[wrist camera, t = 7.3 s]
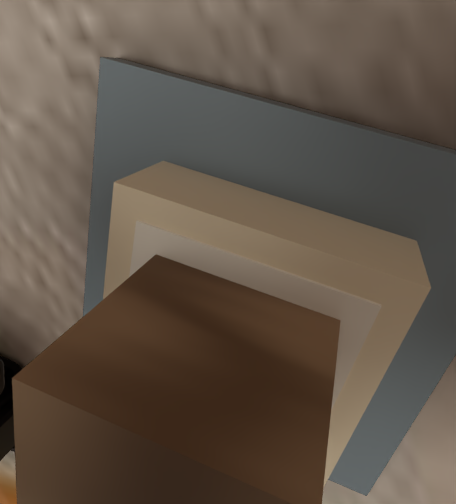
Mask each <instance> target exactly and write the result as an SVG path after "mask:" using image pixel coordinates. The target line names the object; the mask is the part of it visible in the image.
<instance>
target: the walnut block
mask: <svg viewBox="0 0 456 504" xmlns="http://www.w3.org/2000/svg"><path fill="white" fill-rule="evenodd" d="M340 321H341V320H338V319H335V318H333V317H330V316H327V315H324V314H322V313H319V312H316V311H313V310H310V309H308V308H305V307H302V306H299V305H296V304H294V303H291V302H288V301H285V300H282V299H280V298H277V297H274V296H271V295H268V294H266V293H263V292H260V291H257V290H254V289H252V288H249V287H246V286H243V285H241V284H238V283H235V282H232V281H229V280H227V279H224V278H221V277H218V276H215V275H213V274H210V273H207V272H204V271H201V270H199V269H196V268H193V267H190V266H187V265H185V264H182V263H179V262H176V261H173V260H171V259H168V258H165V257H162V256H160V255H157V254H156V255H154V256H153V257H152V258H151V259H150V260H149V261H147V262H146V263H145V264H144V265H143V266H142V267H140V268H139V269H138V270H137V271H136V272H135V273H134V274H132V275H131V276H130V277H129V278H128V279H127V280H125V281H124V282H123V283H122V284H121V285H120V286H118V287H117V288H116V289H115V290H114V291H113V292H111V293H110V294H109V295H108V296H107V297H106V298H105V299H103V300H102V301H101V302H100V303H99V304H98V305H96V306H95V307H94V308H93V309H92V310H91V311H89V312H88V313H87V314H86V315H85V316H84V317H82V318H81V319H80V320H79V321H78V322H77V323H76V324H74V325H73V326H72V327H71V328H70V329H69V330H67V331H66V332H65V333H64V334H63V335H62V336H60V337H59V338H58V339H57V340H56V341H55V342H53V343H52V344H51V345H50V346H49V347H48V348H47V349H45V350H44V351H43V352H42V353H41V354H40V355H38V356H37V357H36V358H35V359H34V360H33V361H31V362H30V363H29V364H28V365H27V366H26V367H24V368H23V369H22V370H21V371H20V372H19V373H17V374H16V375H15V376H14V377H13V378H12V390H13V414H14V439H15V463H16V488H17V504H322V495H323V486H324V476H325V466H326V457H327V447H328V437H329V428H330V418H331V408H332V399H333V389H334V379H335V370H336V360H337V350H338V340H339V331H340Z"/></svg>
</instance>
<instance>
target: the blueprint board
mask: <svg viewBox="0 0 456 504" xmlns="http://www.w3.org/2000/svg"><path fill="white" fill-rule="evenodd" d="M156 254H157V255H160V256H162V257H165V258H168V259H171V260H173V261H176V262H179V263H182V264H185V265H187V266H190V267H193V268H196V269H199V270H201V271H204V272H207V273H210V274H213V275H215V276H218V277H221V278H224V279H227V280H229V281H232V282H235V283H238V284H241V285H243V286H246V287H249V288H252V289H254V290H257V291H260V292H263V293H266V294H268V295H271V296H274V297H277V298H280V299H282V300H285V301H288V302H291V303H294V304H296V305H299V306H302V307H305V308H308V309H310V310H313V311H316V312H319V313H322V314H324V315H327V316H330V317H333V318H335V319H338V320H341V321H340V331H339V340H338V350H337V360H336V370H335V379H334V389H333V399H332V408H331V418H330V428H329V437H328V447H327V457H326V466H325V476H324V486H325V484H326V482H327V480H331V481H333V482H335V483H338V484H340V485H342V486H345V487H347V488H349V489H351V490H354V491H356V492H358V493H361V494H363V495H365V496H367V495H368V493H369V492H370V490H371V488H372V487H373V485H374V484H375V482H376V480H377V479H378V477H379V476H380V474H381V473H382V471H383V469H384V468H385V466H386V465H387V463H388V461H389V460H390V458H391V457H392V455H393V453H394V452H395V450H396V449H397V447H398V446H399V444H400V442H401V441H402V439H403V438H404V436H405V434H406V433H407V431H408V430H409V428H410V427H411V425H412V423H413V422H414V420H415V419H416V417H417V415H418V414H419V412H420V411H421V409H422V407H423V406H424V404H425V403H426V401H427V400H428V398H429V396H430V395H431V393H432V392H433V390H434V388H435V387H436V385H437V384H438V382H439V381H440V379H441V377H442V376H443V374H444V373H445V371H446V369H447V368H448V366H449V365H450V363H451V361H452V360H453V358H454V357H455V355H456V150H453V149H450V148H446V147H442V146H439V145H435V144H431V143H428V142H424V141H420V140H417V139H413V138H409V137H406V136H402V135H398V134H395V133H391V132H387V131H384V130H380V129H376V128H373V127H369V126H365V125H362V124H358V123H354V122H351V121H347V120H343V119H340V118H336V117H332V116H329V115H325V114H321V113H318V112H314V111H310V110H307V109H303V108H299V107H296V106H292V105H288V104H285V103H281V102H277V101H274V100H270V99H266V98H263V97H259V96H255V95H252V94H248V93H244V92H241V91H237V90H233V89H230V88H226V87H222V86H219V85H215V84H211V83H208V82H204V81H200V80H197V79H193V78H189V77H186V76H182V75H178V74H175V73H171V72H167V71H164V70H160V69H156V68H153V67H149V66H145V65H142V64H138V63H134V62H131V61H127V60H123V59H120V58H109V57H100V69H99V84H98V99H97V114H96V129H95V144H94V159H93V174H92V189H91V204H90V219H89V233H88V248H87V263H86V278H85V293H84V308H83V317H84V316H85V315H86V314H87V313H88V312H89V311H91V310H92V309H93V308H94V307H95V306H96V305H98V304H99V303H100V302H101V301H102V300H103V299H105V298H106V297H107V296H108V295H109V294H110V293H111V292H113V291H114V290H115V289H116V288H117V287H118V286H120V285H121V284H122V283H123V282H124V281H125V280H127V279H128V278H129V277H130V276H131V275H132V274H134V273H135V272H136V271H137V270H138V269H139V268H140V267H142V266H143V265H144V264H145V263H146V262H147V261H149V260H150V259H151V258H152V257H153V256H154V255H156ZM324 486H323V488H324Z"/></svg>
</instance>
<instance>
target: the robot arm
mask: <svg viewBox="0 0 456 504" xmlns="http://www.w3.org/2000/svg"><path fill="white" fill-rule="evenodd" d="M21 370H22V369H21V367H20V366H19V365H18V364H16V363H15V362H13V361H10V360H8V359H6V358H4V357H1V356H0V461H1V460H2V458H3V457H4V456H5V455H6V454H7V453H8V452H9V451H10V450H11V451H14V452H15V439H14V414H13V390H12V378H13V377H14V376H15V375H16V374H17V373H19V372H20V371H21Z"/></svg>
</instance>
